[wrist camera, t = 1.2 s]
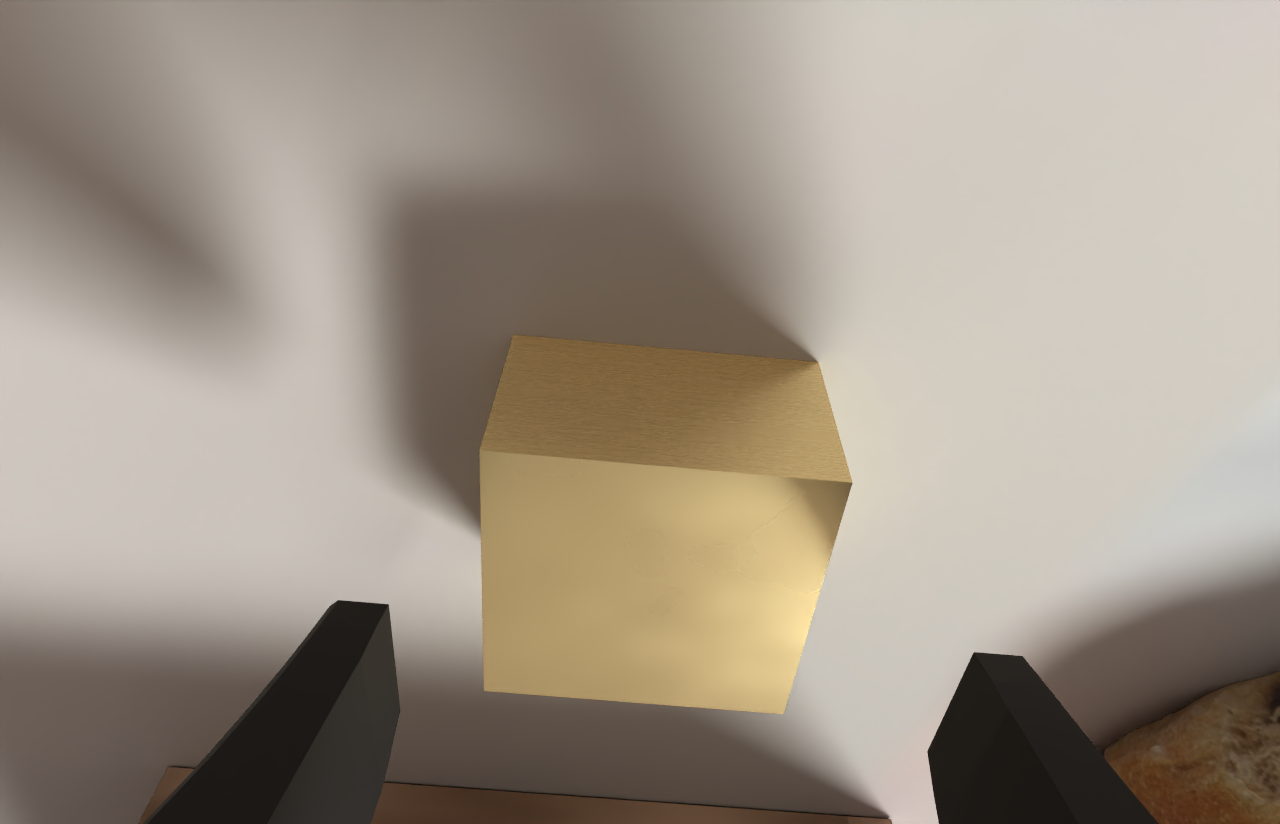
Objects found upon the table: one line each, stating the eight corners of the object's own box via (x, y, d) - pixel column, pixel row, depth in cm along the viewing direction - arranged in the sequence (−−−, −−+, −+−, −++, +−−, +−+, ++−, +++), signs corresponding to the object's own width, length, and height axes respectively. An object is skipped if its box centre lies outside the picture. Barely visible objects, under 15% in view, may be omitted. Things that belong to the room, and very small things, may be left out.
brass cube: (513, 550, 15) (483, 690, 13) (514, 328, 13) (479, 450, 10) (764, 570, 15) (783, 713, 13) (816, 355, 13) (851, 483, 10)
